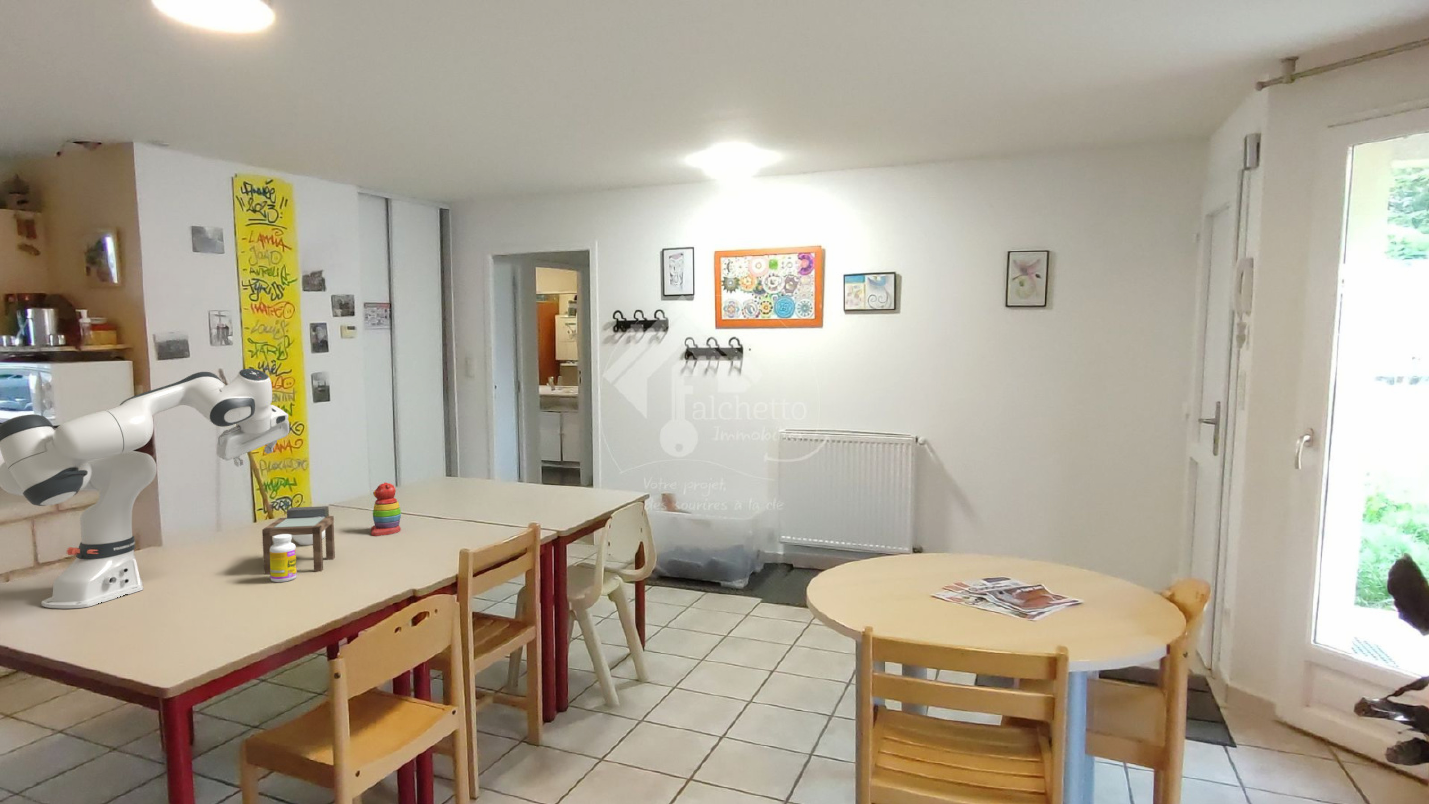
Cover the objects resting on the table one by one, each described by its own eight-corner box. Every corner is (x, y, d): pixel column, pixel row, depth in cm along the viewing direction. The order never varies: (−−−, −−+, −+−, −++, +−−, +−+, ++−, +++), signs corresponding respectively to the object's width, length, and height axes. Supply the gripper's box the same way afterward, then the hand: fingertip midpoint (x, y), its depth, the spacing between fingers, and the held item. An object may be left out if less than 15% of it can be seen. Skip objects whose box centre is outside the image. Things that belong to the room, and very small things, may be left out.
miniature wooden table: (281, 560, 240) (279, 518, 239) (335, 557, 243) (333, 515, 242) (264, 574, 226) (262, 529, 225) (321, 571, 229) (319, 527, 228)
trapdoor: (291, 526, 243) (291, 507, 242) (329, 524, 245) (328, 506, 245) (274, 538, 228) (273, 519, 227) (314, 536, 230) (313, 517, 230)
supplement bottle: (289, 583, 218) (287, 539, 217) (266, 583, 218) (264, 539, 217) (301, 575, 225) (299, 533, 224) (278, 575, 225) (276, 532, 224)
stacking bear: (370, 529, 278) (369, 481, 277) (400, 526, 283) (399, 479, 281) (371, 536, 269) (369, 487, 267) (402, 533, 273) (400, 484, 271)
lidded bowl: (338, 538, 266) (337, 507, 265) (315, 548, 254) (314, 515, 253) (304, 537, 268) (303, 506, 267) (280, 547, 255) (279, 514, 254)
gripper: (226, 439, 207) (227, 478, 214) (293, 412, 225) (292, 450, 231) (210, 428, 209) (211, 467, 216) (278, 403, 226) (277, 440, 233)
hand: (253, 458), depth 224 cm, fingers open, 8 cm apart
